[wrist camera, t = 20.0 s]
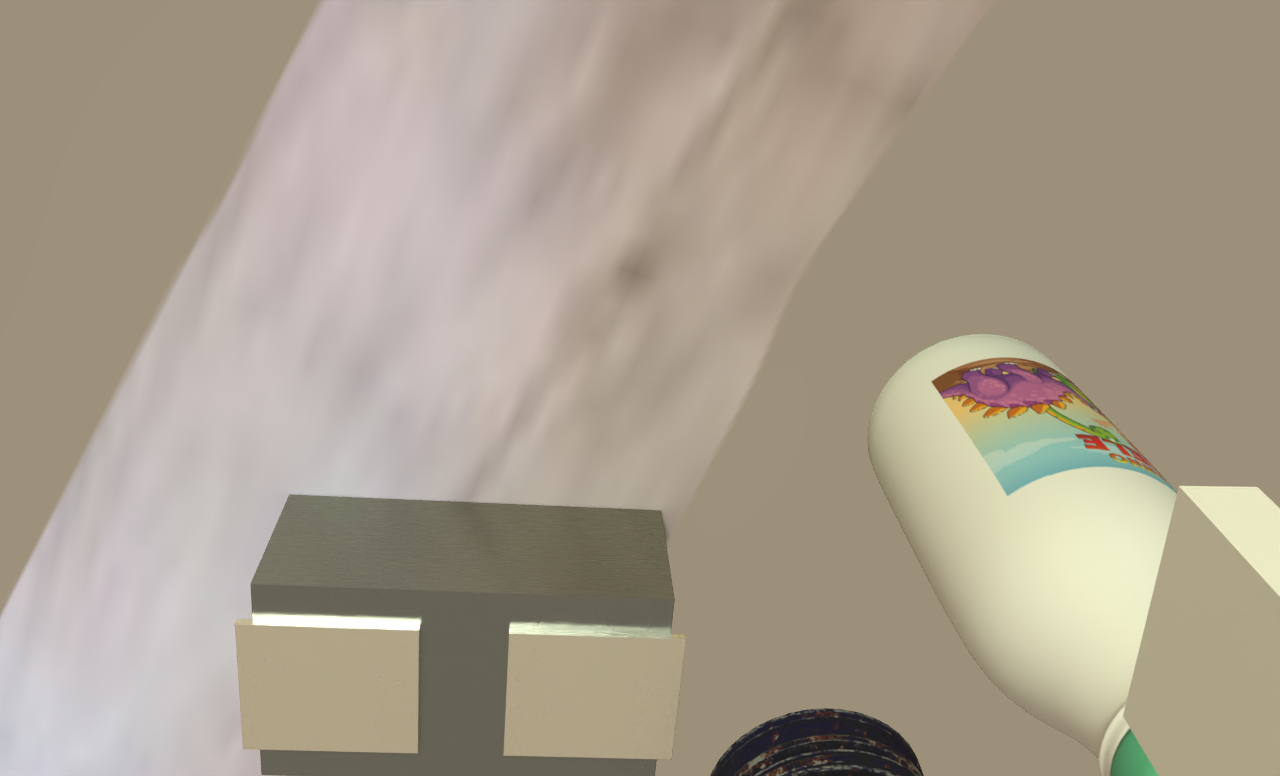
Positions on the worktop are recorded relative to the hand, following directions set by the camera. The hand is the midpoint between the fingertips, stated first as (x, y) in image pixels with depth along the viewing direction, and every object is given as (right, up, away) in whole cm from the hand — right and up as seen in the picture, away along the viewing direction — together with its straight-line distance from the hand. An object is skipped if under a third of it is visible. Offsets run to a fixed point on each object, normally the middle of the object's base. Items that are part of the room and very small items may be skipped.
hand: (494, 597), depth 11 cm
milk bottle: (+14, +1, +33) cm, 36 cm away
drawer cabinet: (-5, -6, +35) cm, 36 cm away
